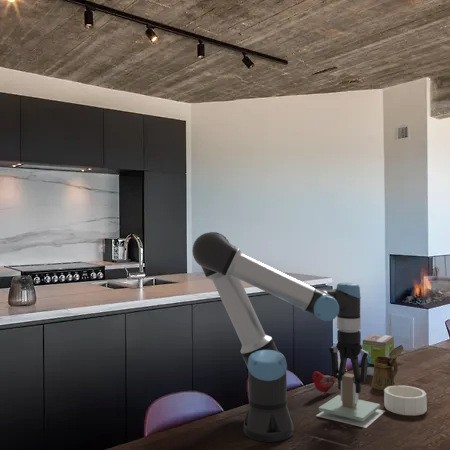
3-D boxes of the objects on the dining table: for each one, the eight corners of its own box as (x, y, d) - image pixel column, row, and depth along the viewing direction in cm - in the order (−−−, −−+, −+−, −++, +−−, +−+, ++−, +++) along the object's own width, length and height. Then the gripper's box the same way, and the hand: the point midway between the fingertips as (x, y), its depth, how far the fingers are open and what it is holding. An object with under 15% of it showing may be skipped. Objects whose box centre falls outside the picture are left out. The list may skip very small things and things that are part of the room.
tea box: (386, 378, 197) (385, 342, 198) (362, 374, 203) (361, 339, 203) (394, 368, 210) (393, 335, 210) (371, 365, 216) (370, 332, 216)
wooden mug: (394, 395, 176) (393, 346, 176) (366, 386, 188) (365, 339, 188) (410, 391, 180) (409, 343, 181) (382, 382, 192) (381, 337, 192)
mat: (315, 417, 157) (315, 415, 157) (337, 402, 170) (337, 400, 170) (366, 429, 147) (366, 427, 147) (385, 412, 160) (385, 410, 160)
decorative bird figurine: (309, 399, 174) (308, 371, 174) (338, 388, 185) (337, 362, 185) (315, 401, 171) (314, 373, 172) (344, 390, 183) (344, 364, 183)
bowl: (379, 411, 161) (379, 393, 161) (392, 400, 171) (392, 383, 172) (419, 419, 153) (419, 400, 153) (430, 407, 164) (430, 389, 164)
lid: (318, 410, 157) (318, 376, 157) (338, 397, 169) (337, 366, 169) (362, 421, 148) (362, 385, 148) (380, 407, 160) (379, 374, 160)
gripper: (377, 331, 157) (378, 403, 156) (330, 325, 167) (331, 392, 167) (369, 335, 151) (369, 409, 151) (320, 328, 161) (321, 398, 161)
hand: (349, 400), depth 159 cm, fingers closed on lid, 3 cm apart
